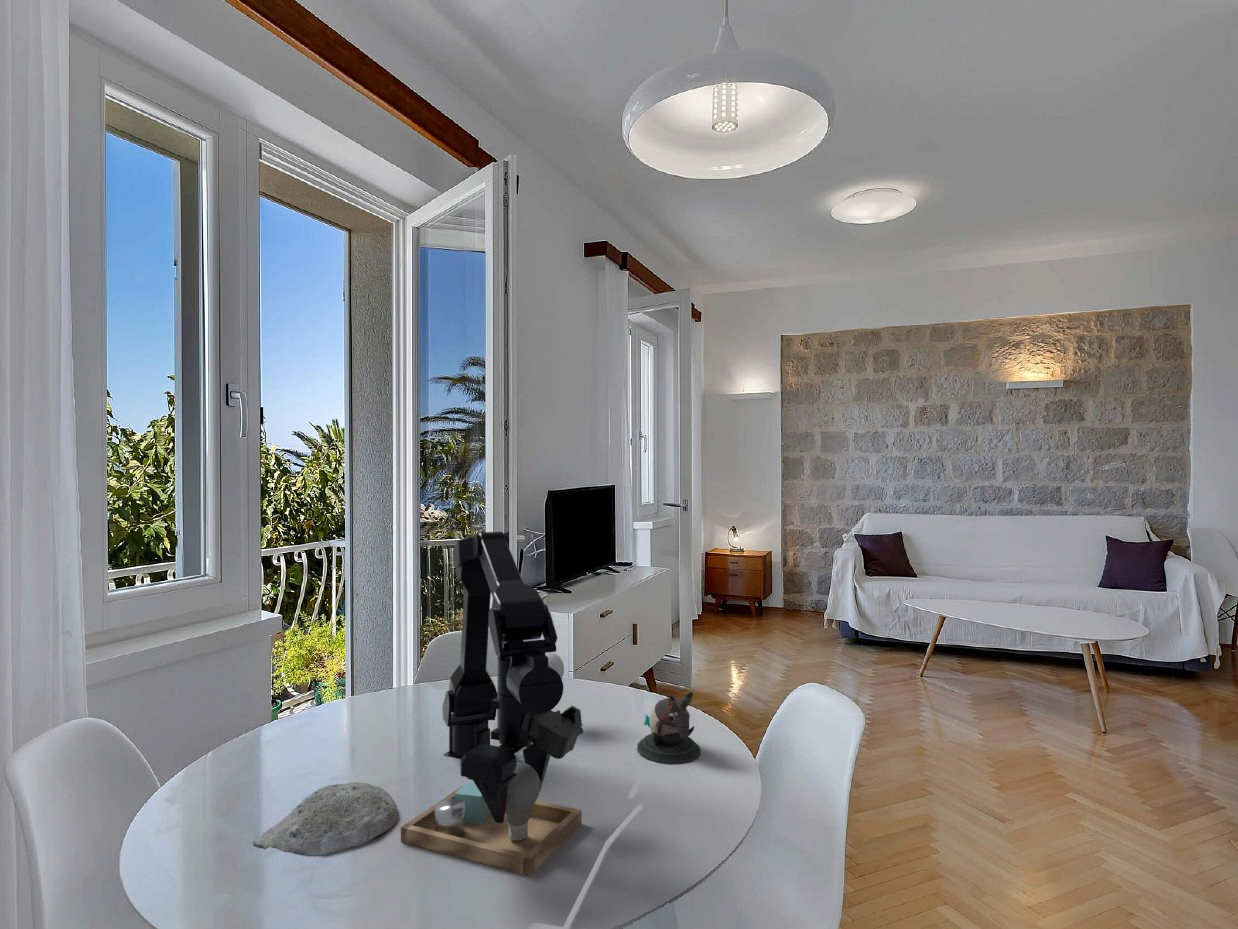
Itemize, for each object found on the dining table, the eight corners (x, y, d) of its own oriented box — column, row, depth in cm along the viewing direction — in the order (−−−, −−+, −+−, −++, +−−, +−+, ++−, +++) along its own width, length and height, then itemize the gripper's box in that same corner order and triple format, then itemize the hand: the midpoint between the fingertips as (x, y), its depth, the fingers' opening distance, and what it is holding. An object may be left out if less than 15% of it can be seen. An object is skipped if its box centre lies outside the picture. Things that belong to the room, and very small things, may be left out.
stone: (354, 770, 110) (419, 765, 102) (360, 821, 108) (426, 821, 101) (244, 809, 95) (311, 808, 87) (249, 870, 93) (318, 873, 86)
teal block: (454, 822, 98) (454, 793, 98) (467, 809, 102) (467, 781, 102) (480, 825, 97) (480, 796, 97) (492, 812, 101) (492, 784, 101)
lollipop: (571, 726, 138) (571, 650, 138) (548, 737, 132) (549, 658, 132) (543, 719, 142) (543, 645, 142) (520, 730, 136) (520, 653, 136)
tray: (400, 846, 93) (400, 827, 93) (464, 801, 106) (464, 784, 106) (529, 881, 85) (529, 860, 85) (581, 828, 98) (581, 810, 98)
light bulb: (532, 853, 90) (532, 776, 90) (488, 848, 91) (488, 772, 91) (546, 829, 96) (545, 757, 96) (505, 825, 97) (504, 753, 97)
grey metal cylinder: (428, 839, 94) (428, 809, 94) (447, 825, 97) (447, 796, 97) (452, 845, 92) (452, 815, 92) (470, 831, 96) (471, 802, 96)
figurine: (679, 734, 133) (680, 673, 133) (713, 759, 123) (714, 693, 122) (626, 744, 128) (626, 681, 128) (657, 771, 118) (658, 702, 118)
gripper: (535, 721, 82) (534, 854, 82) (601, 679, 99) (601, 789, 99) (457, 708, 87) (457, 834, 87) (534, 670, 104) (534, 775, 104)
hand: (518, 807), depth 94 cm, fingers open, 9 cm apart
